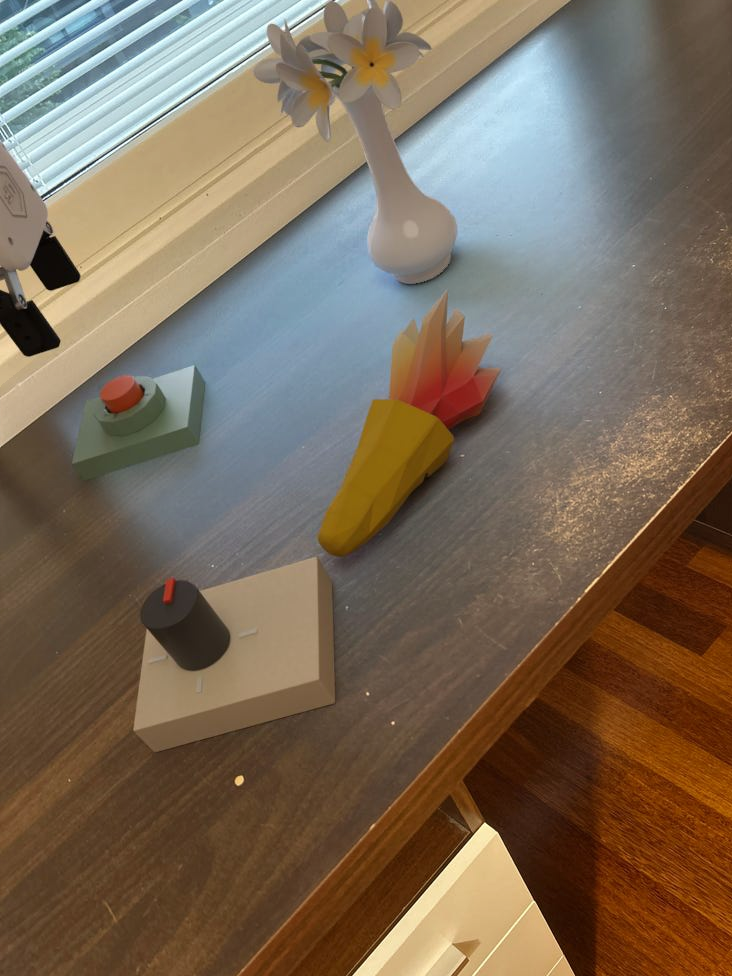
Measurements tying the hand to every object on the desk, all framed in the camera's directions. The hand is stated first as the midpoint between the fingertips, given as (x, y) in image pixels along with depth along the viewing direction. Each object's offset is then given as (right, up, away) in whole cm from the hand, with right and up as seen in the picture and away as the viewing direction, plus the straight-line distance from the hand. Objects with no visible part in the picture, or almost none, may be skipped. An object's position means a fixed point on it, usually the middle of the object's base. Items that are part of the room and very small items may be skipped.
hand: (55, 316), depth 85 cm
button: (+1, -4, +13) cm, 14 cm away
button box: (+2, -6, +16) cm, 17 cm away
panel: (+18, -29, -8) cm, 35 cm away
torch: (+30, -12, +1) cm, 32 cm away
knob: (+15, -27, -10) cm, 33 cm away
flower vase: (+29, +11, +20) cm, 37 cm away
